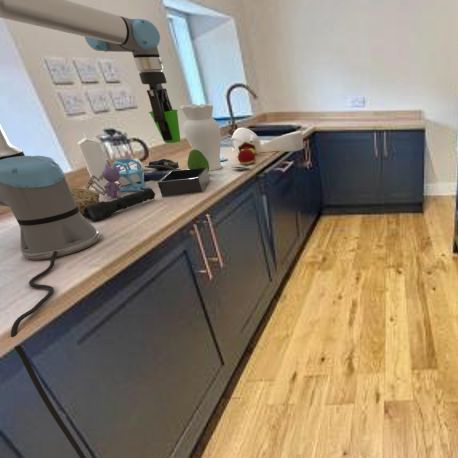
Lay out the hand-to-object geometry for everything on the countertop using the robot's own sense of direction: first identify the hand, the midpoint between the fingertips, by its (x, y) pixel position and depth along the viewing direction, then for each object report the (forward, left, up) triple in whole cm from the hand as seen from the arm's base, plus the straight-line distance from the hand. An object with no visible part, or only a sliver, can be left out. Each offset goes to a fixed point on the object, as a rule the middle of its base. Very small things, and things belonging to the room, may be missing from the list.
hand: (171, 138), depth 130 cm
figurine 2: (+46, -20, -15) cm, 53 cm away
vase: (+33, -4, -20) cm, 39 cm away
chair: (+8, +20, -20) cm, 29 cm away
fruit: (+18, -2, -20) cm, 27 cm away
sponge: (-14, +28, -20) cm, 37 cm away
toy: (+56, -6, -19) cm, 59 cm away
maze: (0, +28, -15) cm, 31 cm away
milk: (+13, +32, -20) cm, 39 cm away
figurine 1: (-2, +24, -19) cm, 30 cm away
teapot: (+59, -23, -10) cm, 64 cm away
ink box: (+15, +24, -17) cm, 33 cm away
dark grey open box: (+1, 0, -20) cm, 20 cm away
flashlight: (-19, +15, -20) cm, 31 cm away
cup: (0, 0, -2) cm, 2 cm away
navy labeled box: (+31, +16, -18) cm, 39 cm away
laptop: (+23, -18, -20) cm, 36 cm away
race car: (+30, +15, -17) cm, 37 cm away
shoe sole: (+64, -31, -22) cm, 75 cm away
